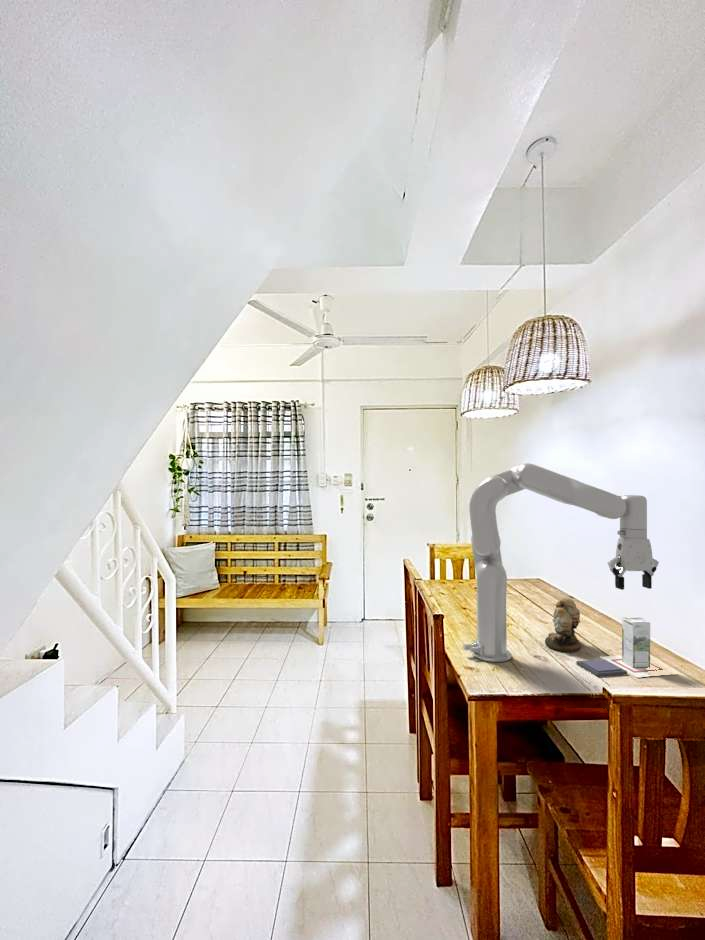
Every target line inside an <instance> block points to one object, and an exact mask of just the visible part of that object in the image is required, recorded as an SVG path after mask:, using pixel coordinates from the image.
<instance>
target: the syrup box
mask: <svg viewBox="0 0 705 940" xmlns="http://www.w3.org/2000/svg"><path fill="white" fill-rule="evenodd" d="M621 655H622V661H623V662H624V663H626V664H627V665H629V666H631V667H633V668H648V667H650V661H651V622H650V621H649V620H647V619H645V618H643V617H641V616H626V617H624V616H622V617H621Z"/></svg>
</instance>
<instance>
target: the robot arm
mask: <svg viewBox="0 0 705 940" xmlns="http://www.w3.org/2000/svg"><path fill="white" fill-rule="evenodd" d="M524 490H528V491H530V492H532V493H535V494H538V495H540V496H544V497H546V498H548V499H551V500H554V501H556V502H560V503H562V504H565V505H570V506H575V507H578V508H581V509H584V510H586V511H588V512H589V511H590V512H591V513H594V514H596V516H599V517H602V518H606V519H609V520H610V519H611V520H617V519H619V530H618V531H617V532H616V533H617V535H618V536H619V537H618V539H617V544H616V548H615V549H616V550H615V557H614V558H612V559H611V560H609V561H608V562H607V565H608V568H609V571H610V572H612V575H613V576H614V585H615V588H616V589H618V590H625V577H624V575H625V573H626V572H642V573H643V574H642V575H641V579H642V581H641V583H642V587H643V588H646V589H652V588H653V587H652V583H653V581H652V577H653V576H654V575H655V572H656V571H657V567H658V566H659V563H660V561H658V560H657V559H655V558H654V557H653V549H652V545H651V541H650V538H648V500H647V497H645V496H643V495H638V494H637V495H636V494H635V495H634V494H624V495H617V494H615V493H612V492H610V491H607V490H604V489H600V488H598V487H596V486H592V485H590V484H586V483H585V482H581V481H579V480H576V479H575V478H572V477H569V476H566V475H564V474H561V473H558V472H555V471H553V470H550V469H547V468H544V467H541V466H539V465H536V464H533V463H529V462H528V463H522V464H518V465H517V466H514V467H511V468H510V469H509V468H508V469H507V470H503V471H501V472H499V473H496V474H493V475H489V476H488V477H486V478H485V479H483V480H482V482H481V483H480V484H479V485H478V486H476V488H475V489H474V490H473V492H472V494H471V497H470V500H469V519H470V520H469V521H470V528H471V539H470V541H471V549H472V556H473V562H474V569H475V570H474V571H475V575H476V639H474V640H473V642H472V643H471V644H469V643H464V644H463V645H462V649H463V651H469V652H470V653H472V655H473V657H475V658H476V659H478V660H481V661H485V662H490V663H491V662H492V663H502V662H506V661H507V662H508V661H509V660H511V659H512V657H513V655H512V652H511V651H510V650H508V649H507V648H508V647H507V645H508V644H507V641H508V640H507V639H508V638H507V634H508V633H507V590H508V588H507V587H508V576H507V571H506V569H505V567H504V565H503V561H502V553H501V538H500V534H499V528H498V522H497V513H496V510H497V509H496V508H497V505H498V503H499V502H500V501H502V500H503V499H504V498H506V497H508V496H510V495H513V494H516V493H518V492H520V491H524Z"/></svg>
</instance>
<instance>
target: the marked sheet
mask: <svg viewBox="0 0 705 940" xmlns="http://www.w3.org/2000/svg"><path fill="white" fill-rule="evenodd" d="M598 658H599V659H600V660H601V659H605V660H607V661H609V662H611V663H613V664H614V665H616V666H618V667H620V668H622V669H624V670H626V671H627V674H628V673H629V675H631V676H632V677H634V678H636V679H643V678H642V677H647V678H650V677H649V676H651V675H648V674H647V672H648V671H655V670H656V669H655V670H647V669H646V668H633V667H631V666H629V665H627V664H626V663H624V662H623V661H622V654H621V655H619V654H618V655H617V654H616V655H605V656H598ZM650 664H651V665H653V666H655V667H657V668H659V669H658V670H663V669H662V668H660V667H658V666H656V665H654V664H652V663H650ZM649 668H650V667H649ZM656 671H657V670H656ZM649 674H650V673H649Z"/></svg>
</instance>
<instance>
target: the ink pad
mask: <svg viewBox="0 0 705 940" xmlns="http://www.w3.org/2000/svg"><path fill="white" fill-rule="evenodd" d="M575 663H576V666H579V667H580V668H581V669H583V668H584V669H583V670H585V671H587V672H588V671H589V672H588V673H590V672H591V673H590V674H591V675H593V674H594V676H595V677H597V676H602V677H610V676H609V675H615V676H625V675H624V674H627V675H628V673H627V671H626V670H624V669H622V668H620V667H618V666H616V665H614V664H613V663H611V662H609V661H607V660H605V659H601V658H600V659H590V660H579V661H578V660H577V661H575Z"/></svg>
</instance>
